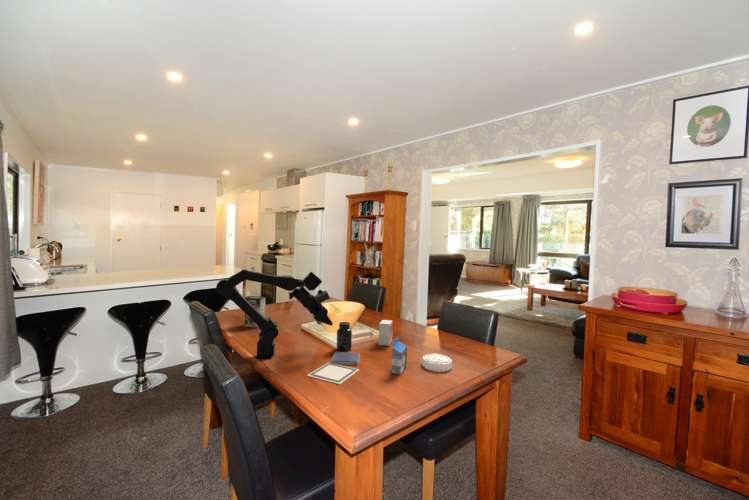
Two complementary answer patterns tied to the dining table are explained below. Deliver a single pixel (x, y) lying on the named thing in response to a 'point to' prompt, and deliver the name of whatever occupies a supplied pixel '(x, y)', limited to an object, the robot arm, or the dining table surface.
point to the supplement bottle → (344, 337)
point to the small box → (385, 332)
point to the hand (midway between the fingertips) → (329, 322)
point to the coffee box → (258, 305)
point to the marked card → (333, 373)
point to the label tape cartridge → (398, 356)
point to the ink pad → (345, 358)
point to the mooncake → (436, 362)
